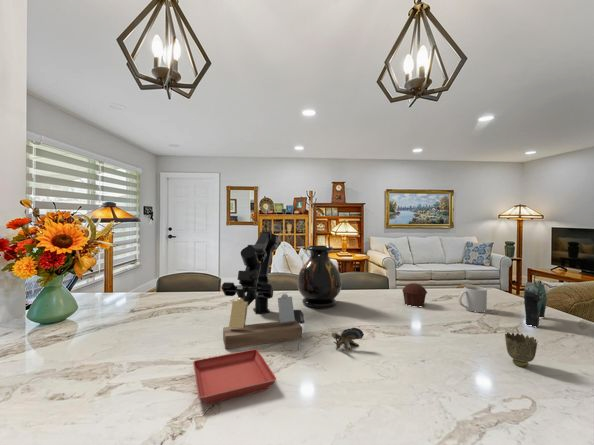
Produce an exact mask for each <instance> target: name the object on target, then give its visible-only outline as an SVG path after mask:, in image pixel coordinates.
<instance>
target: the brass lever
mask: <svg viewBox="0 0 594 445" xmlns="http://www.w3.org/2000/svg"><path fill="white" fill-rule="evenodd" d="M248 307H249V306H248V302H244V299H243V298H239V297H238V298H237V300H233V301H232V305H231V310H230V318H229V323H228V324H229V325H228V327H230V328H245V325H246V321H247V313H248Z"/></svg>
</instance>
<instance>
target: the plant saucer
mask: <svg viewBox="0 0 594 445" xmlns="http://www.w3.org/2000/svg"><path fill="white" fill-rule="evenodd" d="M192 364H193V366H192V367H193V371H194V378H195V383H196V384H195V385H196V391H197V398H199V400H200V401H202V402H203V403H205V404H209V405H210V404H212V403H217V402H221V401H225V400H229V399H232V398H233V399H234V398H237V397H241V396H245V395H249V394H254V393H258V392H261V391H265V390H268V389H269V388H270V387H272V385H273V384H274V383H275V382H276V381H277V376H276V375H275V374H274V373H273V371H272V370H271V368H270V366H269V365H268V363H267V362H266V360H265V358H264V357H263V356H262V354H261V353H260V351H259V349H257V348H255V349H254V348H253V349H250V350H249V349H248V350H244V351H239V352H232V353H228V354H222V355H217V356H212V357H207V358H201V359H198V360H197V359H196V360H193V361H192Z"/></svg>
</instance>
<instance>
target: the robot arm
mask: <svg viewBox="0 0 594 445" xmlns="http://www.w3.org/2000/svg"><path fill="white" fill-rule="evenodd" d="M277 245H279V237H278V236H277V234H275V233H272V231H269V230H261V231H260V232H259V236H258V238H257V240H256V241H255V243H254V244H247V246H246V247H244V248H243V249H241V251H240V256H241V260H242V262H243V265H244V266H245V269H244V270H238V273H237V274H238V275H237V280H238V284H237V285H235V283H234V282H230V281H228V282H226V281H225V282H223V283H222V284H221V290H222V292H223V294H224V296H226V297H234V296H235V295H237V297H238V298H243V299H244V302H248V307H249V306H250V304H252V302H254V307H253V308H252V310H253V312H254V313H255V314H265V313H270V312H271V310H270V309H269V300H270V299H273V297H274V289H273V286H272V284H271V283H270V280H269V278H268V277H269V271H270V266H271V260H272V254H273V252H274V251H276V250H277Z"/></svg>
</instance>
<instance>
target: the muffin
mask: <svg viewBox="0 0 594 445" xmlns="http://www.w3.org/2000/svg"><path fill="white" fill-rule="evenodd" d="M427 293H428V291H427V290H426V288H425V287H424V286H423V285H421V284H420V283H414V282H413V283H408V284H406V285H405V286H404V287H403V288H402V295H403V300H404V305H406V304H407V305H406V306H408V305H411V306H410V307H412V306H423V307H425V303H426V302H425V300H426V296H427Z"/></svg>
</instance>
